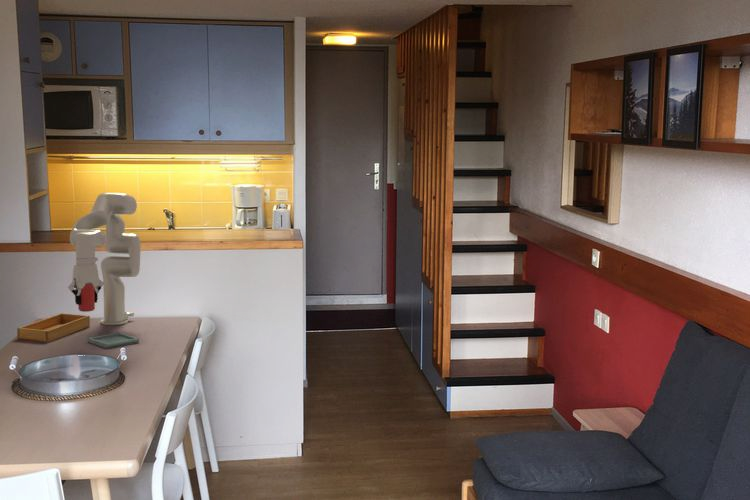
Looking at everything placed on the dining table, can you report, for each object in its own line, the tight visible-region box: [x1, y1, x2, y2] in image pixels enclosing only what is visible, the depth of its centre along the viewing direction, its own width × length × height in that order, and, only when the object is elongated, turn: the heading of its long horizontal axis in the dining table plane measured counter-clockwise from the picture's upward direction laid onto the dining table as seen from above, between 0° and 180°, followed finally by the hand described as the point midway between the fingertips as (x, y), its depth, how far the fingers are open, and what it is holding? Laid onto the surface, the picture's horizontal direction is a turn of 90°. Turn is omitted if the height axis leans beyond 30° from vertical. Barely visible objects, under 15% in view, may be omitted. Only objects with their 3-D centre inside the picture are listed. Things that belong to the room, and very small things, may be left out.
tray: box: [16, 312, 91, 343], centre depth 366 cm, size 31×15×6 cm, turn 165°
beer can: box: [77, 283, 96, 313], centre depth 346 cm, size 7×7×12 cm
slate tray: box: [87, 332, 140, 349], centre depth 352 cm, size 15×15×2 cm
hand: (86, 302), depth 346 cm, fingers closed on beer can, 6 cm apart
